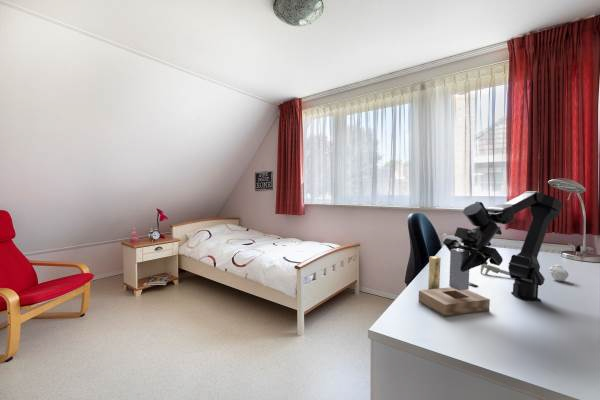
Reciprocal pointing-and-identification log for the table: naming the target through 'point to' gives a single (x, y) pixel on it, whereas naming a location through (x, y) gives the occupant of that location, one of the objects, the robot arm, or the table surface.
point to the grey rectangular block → (458, 269)
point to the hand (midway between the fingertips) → (456, 269)
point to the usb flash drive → (473, 285)
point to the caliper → (493, 269)
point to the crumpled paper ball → (558, 272)
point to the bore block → (453, 301)
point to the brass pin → (434, 272)
